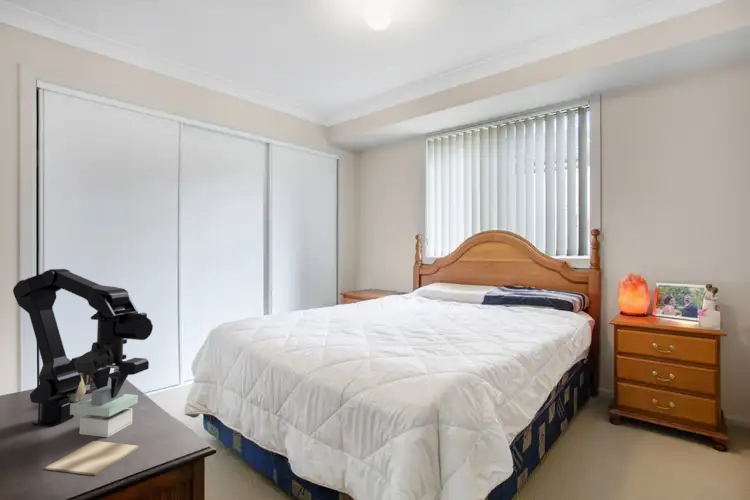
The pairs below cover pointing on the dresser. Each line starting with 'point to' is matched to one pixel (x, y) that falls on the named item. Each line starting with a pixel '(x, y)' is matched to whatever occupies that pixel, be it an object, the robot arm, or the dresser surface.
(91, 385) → the supplement bottle
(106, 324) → the robot arm
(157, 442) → the dresser surface
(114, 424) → the storage box
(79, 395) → the ghost figurine
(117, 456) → the cork mat
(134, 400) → the lid
